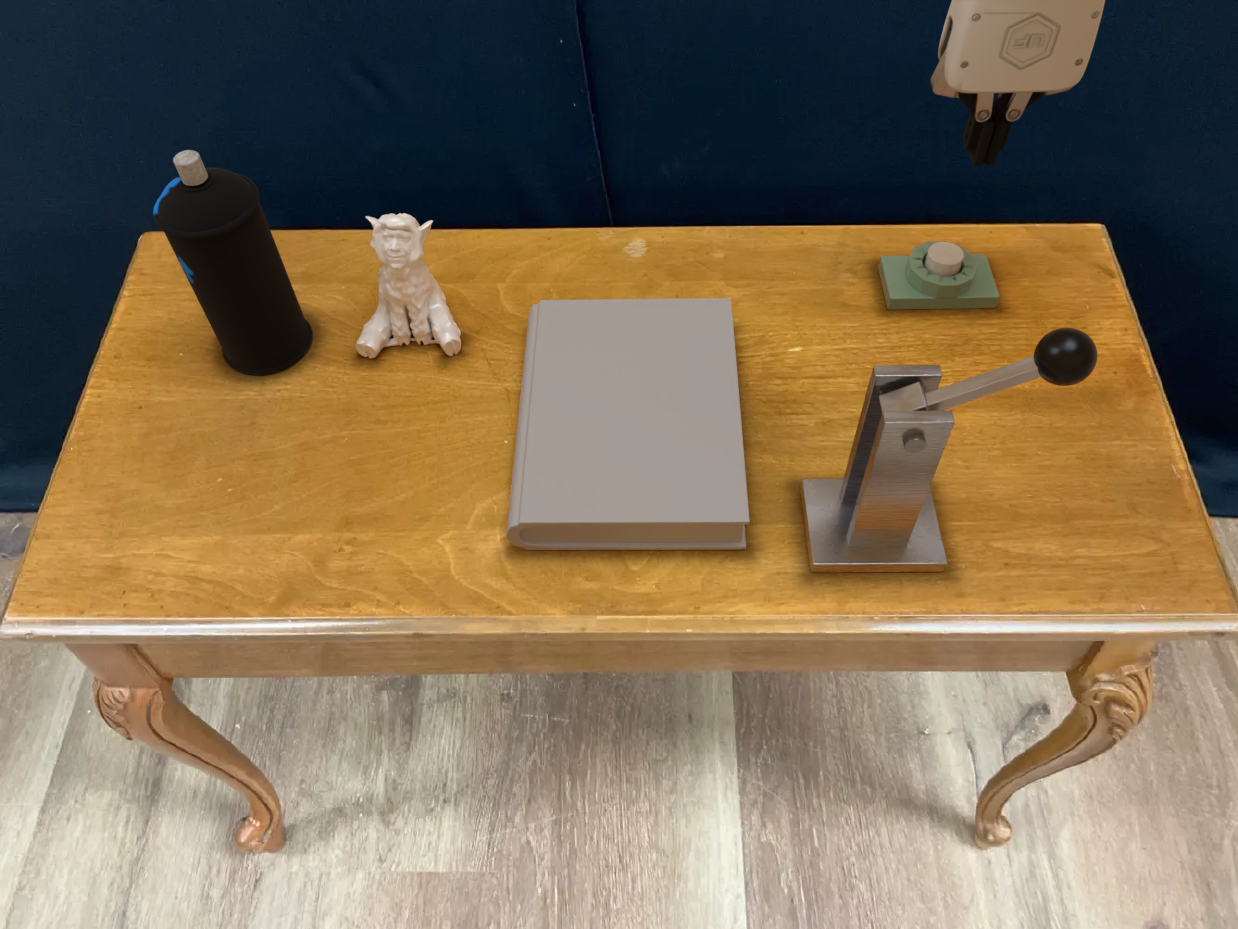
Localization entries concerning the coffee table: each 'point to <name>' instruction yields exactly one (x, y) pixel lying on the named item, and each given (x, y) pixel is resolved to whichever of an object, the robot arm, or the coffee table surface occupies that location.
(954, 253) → the beige push button
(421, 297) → the sitting furry creature
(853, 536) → the lever stand
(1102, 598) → the coffee table surface
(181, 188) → the aerosol can
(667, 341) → the book
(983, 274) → the green push button base
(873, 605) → the coffee table surface
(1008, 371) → the lever with ball knob
